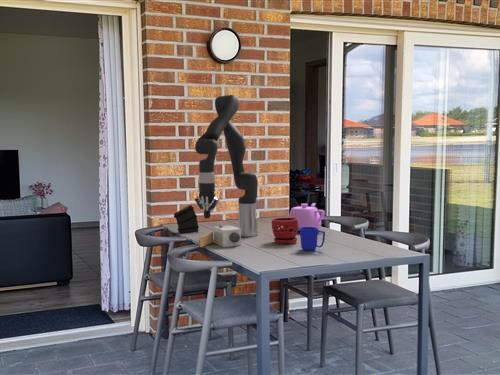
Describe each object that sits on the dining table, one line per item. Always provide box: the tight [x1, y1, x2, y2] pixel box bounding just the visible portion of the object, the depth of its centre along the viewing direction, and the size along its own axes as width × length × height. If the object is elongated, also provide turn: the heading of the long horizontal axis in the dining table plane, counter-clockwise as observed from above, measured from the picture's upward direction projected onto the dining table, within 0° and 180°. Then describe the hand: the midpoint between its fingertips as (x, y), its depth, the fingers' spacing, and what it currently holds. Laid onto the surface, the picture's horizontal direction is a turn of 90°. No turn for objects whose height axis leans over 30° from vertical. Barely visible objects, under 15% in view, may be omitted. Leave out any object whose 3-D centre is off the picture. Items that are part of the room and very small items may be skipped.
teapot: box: [288, 202, 326, 232], centre depth 320 cm, size 23×21×15 cm
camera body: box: [213, 224, 242, 248], centre depth 280 cm, size 9×15×9 cm, turn 25°
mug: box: [299, 227, 326, 252], centre depth 264 cm, size 8×12×10 cm
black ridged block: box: [173, 204, 200, 234], centre depth 315 cm, size 4×13×15 cm, turn 108°
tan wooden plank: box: [198, 231, 214, 248], centre depth 279 cm, size 2×14×5 cm, turn 160°
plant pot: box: [271, 216, 299, 245], centre depth 283 cm, size 13×13×12 cm
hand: (207, 218), depth 272 cm, fingers closed
